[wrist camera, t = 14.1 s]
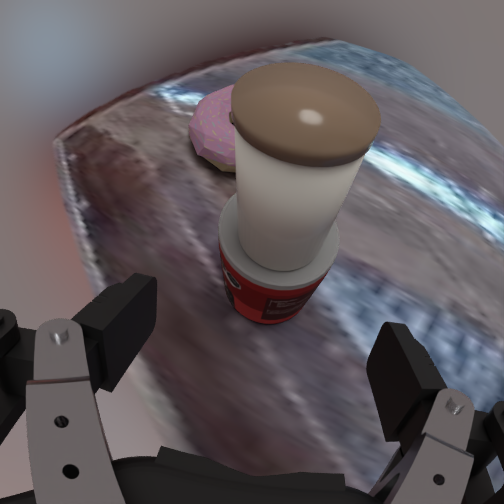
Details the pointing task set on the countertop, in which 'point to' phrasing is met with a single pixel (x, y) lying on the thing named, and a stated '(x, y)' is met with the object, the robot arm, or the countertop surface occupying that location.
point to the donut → (215, 130)
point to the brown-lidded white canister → (296, 157)
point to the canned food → (268, 275)
